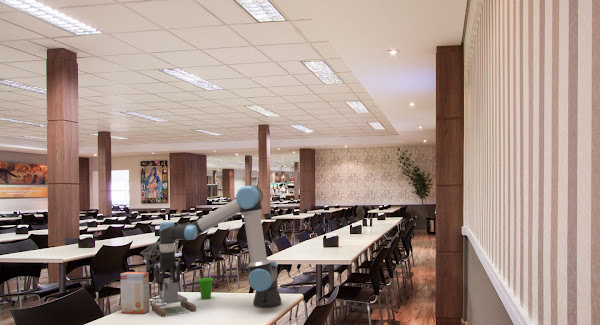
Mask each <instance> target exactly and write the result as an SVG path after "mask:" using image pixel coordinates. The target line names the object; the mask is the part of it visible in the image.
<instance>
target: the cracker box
mask: <svg viewBox="0 0 600 325" xmlns="http://www.w3.org/2000/svg"><path fill="white" fill-rule="evenodd" d="M149 276H150V275H149V272H148V271H147V272H146V271H145V272H144V271H126V272H122V273H120V312H121V314H137V315H138V314H140V315H144V314H146V313H149V312H150V301H149V300H150V299H149V298H150V296H149V295H150V281H149V280H150V279H149V278H150V277H149Z"/></svg>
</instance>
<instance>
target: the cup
mask: <svg viewBox="0 0 600 325" xmlns="http://www.w3.org/2000/svg"><path fill="white" fill-rule="evenodd" d="M197 281H198V282H197V283H198V288H199V292H200V297H201V300H204V299H205V300H210V299H211V298H212V288H213V282H214V278H211V277H210V278H209V277H205V278H203V277H202V278H199V279H197ZM205 300H204V301H205Z"/></svg>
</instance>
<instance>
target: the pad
mask: <svg viewBox="0 0 600 325" xmlns="http://www.w3.org/2000/svg"><path fill="white" fill-rule="evenodd" d="M162 308H163V309H164V310H166V316H167V317H170V316H175V315H182V314H186V313H187V314H188V313H191V311H190V310H188V309H186V308H184V307H182V306H181V305H179V304H178V305H174V306H172V305H171V306H166V307H162Z"/></svg>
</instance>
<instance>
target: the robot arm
mask: <svg viewBox="0 0 600 325" xmlns="http://www.w3.org/2000/svg"><path fill="white" fill-rule="evenodd" d="M263 201H264V193H263V190H262V189H261V188H260V187H259V186H257V185H244V186H243V187H241V188H239V189H238V190H237V192H236V194H235V198H234V199H233V200H231V201H229V202H228V203H226V204H224V205H221V206H220V207H218V208H217V209H215V210H213V211H211V212H209V213H208V214H206V215H205V216H202V217H200V218H199V219H198V220H195V221H194V222H191V223H188V224H183V225H175V222H174V221H166V222H165V221H163V222H161V223H160V224H159V242H160V249H159V250H160V251H161V252H160V251H159V252H160V255H159V256H160V257H159V260H160V262H159V261H158V262H159V264H157V263H155V284H157V285H158V284H159V285H160V291H161V292H162V297H165V294H164V284H163V281H164V279H165V276H166V271H167V270H169V272H170V271H171V274H170V276H171V275H172V279H173V281H175V282H177V283H178V282H180V281H181V268H180V267H181V264H182V263H181V262H180V261H177V260H176V256H175V255H176V253H175V252H176V250H175V247H176V246H175V245H176V244H175V241H178V240H179V241H181V240H182V241H184V240H185V241H190V240H191V241H192V240H196V238H197V237H199V236H200V235H201V234H203V233H205V232H206V231H209V230H210V229H212V228H214V227H215V226H218V225H219V224H221V223H223V222H225V221H226V220H228V219H230V218H232V217H234V216H235V215H237V214H241V215H242V216H243V220H244V226H245V228H244V229H245V233H246V234H245V235H246V239H247V247H248V253H249V254H248V255H249V260H250V262H249V264H248V265H247V266H248V267H247V268H248V273H249V275H248V280H247V281H248V284H249V286H250V287H251V288H252V289H253V290H254V291H255V294H254V298H253V300H252V301H253V304H252V305H253V306H254V307H256V308H273V307H278V306H281V305H282V298H281V294H280V292H279V290H278V266H277V262H276V261H270V260H269V259H268V256H267V250H266V243H265V237H264V231H263V230H264V229H263V225H262V224H263V223H262V219H261V212H262V211H263V206H262V202H263ZM174 250H175V251H174ZM156 264H157V265H156ZM160 266H161V267H160ZM174 266H175V267H174ZM159 268H160V269H161V272H160V281H159ZM174 268H175V269H174ZM175 270H176V271H175ZM175 272H176V273H175Z"/></svg>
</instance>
